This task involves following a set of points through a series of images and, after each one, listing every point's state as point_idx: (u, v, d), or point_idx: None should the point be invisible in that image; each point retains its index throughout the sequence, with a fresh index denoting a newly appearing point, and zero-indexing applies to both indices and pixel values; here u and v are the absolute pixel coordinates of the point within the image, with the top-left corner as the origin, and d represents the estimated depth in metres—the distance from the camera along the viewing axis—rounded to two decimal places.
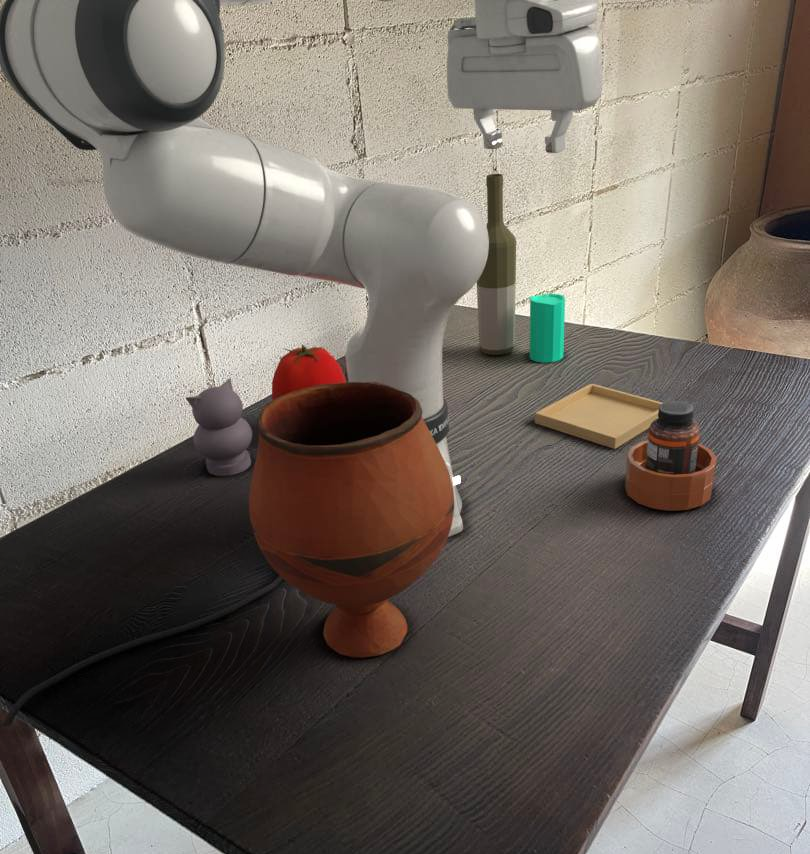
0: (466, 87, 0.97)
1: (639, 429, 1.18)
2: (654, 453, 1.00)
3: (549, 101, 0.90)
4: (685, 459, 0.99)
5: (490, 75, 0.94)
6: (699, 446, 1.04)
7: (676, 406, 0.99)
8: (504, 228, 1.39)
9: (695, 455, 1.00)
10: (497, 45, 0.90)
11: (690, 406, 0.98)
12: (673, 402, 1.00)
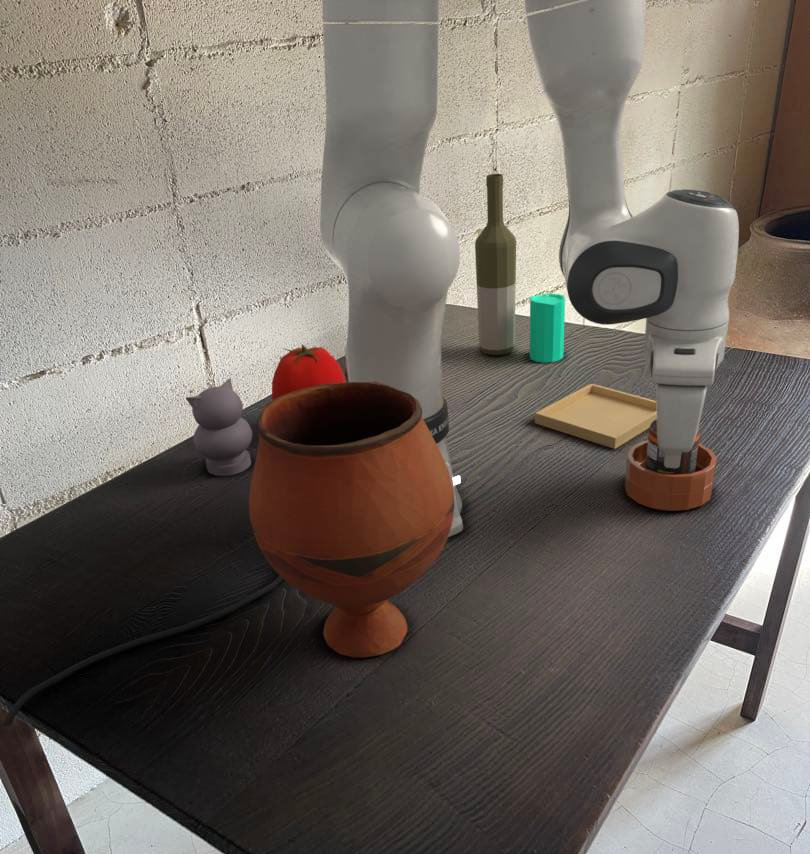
0: None
1: (639, 429, 1.18)
2: (654, 453, 1.00)
3: None
4: (685, 459, 0.99)
5: None
6: (699, 446, 1.04)
7: None
8: (504, 228, 1.39)
9: (695, 455, 1.00)
10: None
11: None
12: None
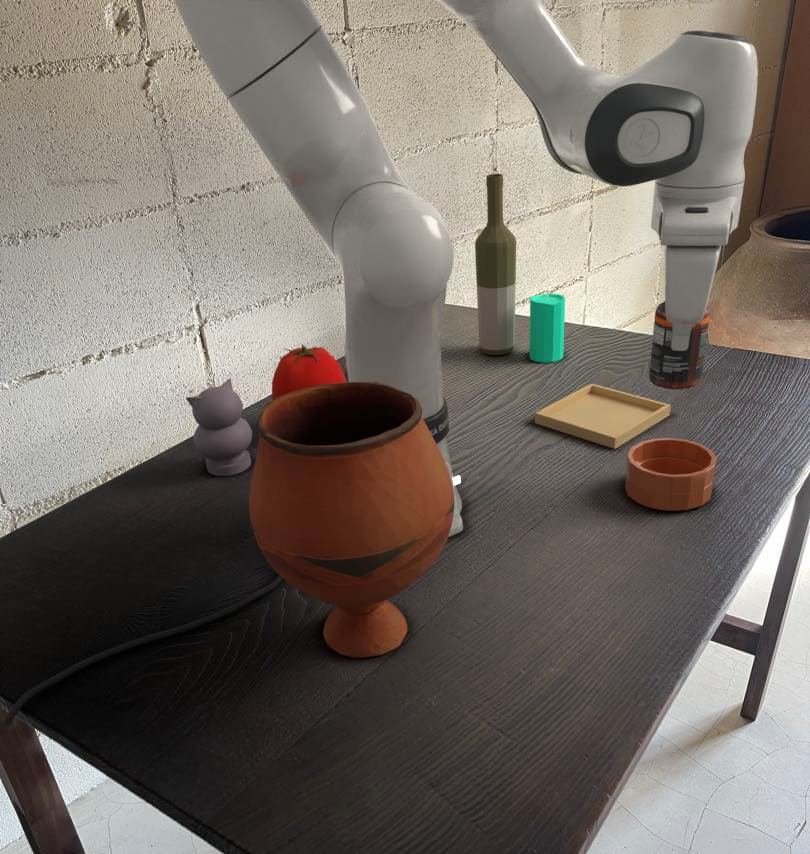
0: None
1: (639, 429, 1.18)
2: (661, 337, 0.93)
3: None
4: (694, 342, 0.92)
5: None
6: (699, 446, 1.04)
7: None
8: (504, 228, 1.39)
9: (705, 340, 0.93)
10: None
11: None
12: None
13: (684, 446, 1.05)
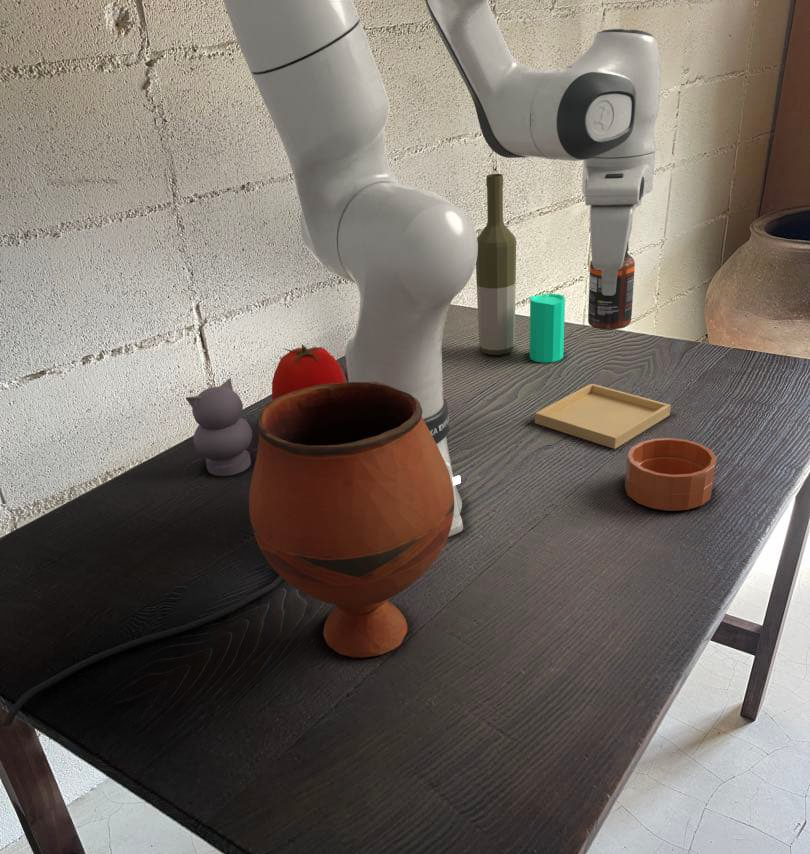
0: None
1: (639, 429, 1.18)
2: (594, 284, 1.11)
3: None
4: (621, 288, 1.10)
5: None
6: (699, 446, 1.04)
7: None
8: (504, 228, 1.39)
9: (631, 286, 1.11)
10: None
11: None
12: None
13: (684, 446, 1.05)
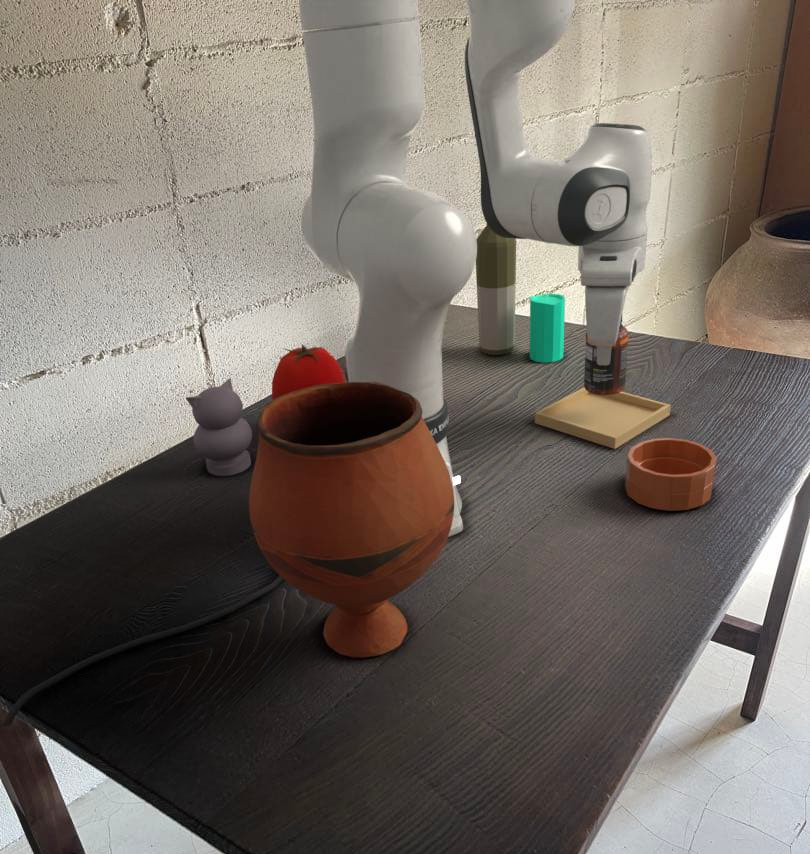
0: None
1: (639, 429, 1.18)
2: (590, 354, 1.17)
3: None
4: (616, 358, 1.16)
5: None
6: (699, 446, 1.04)
7: None
8: None
9: (625, 355, 1.17)
10: None
11: None
12: None
13: (684, 446, 1.05)
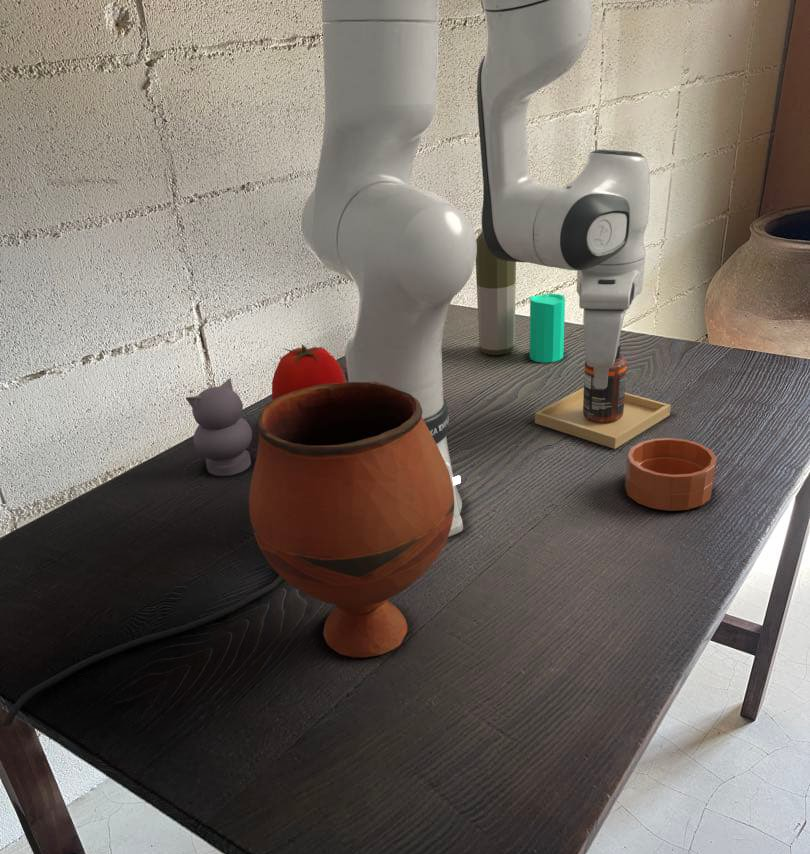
0: None
1: (639, 429, 1.18)
2: (589, 382, 1.19)
3: None
4: (614, 387, 1.18)
5: None
6: (699, 446, 1.04)
7: None
8: None
9: (623, 384, 1.19)
10: None
11: None
12: None
13: (684, 446, 1.05)
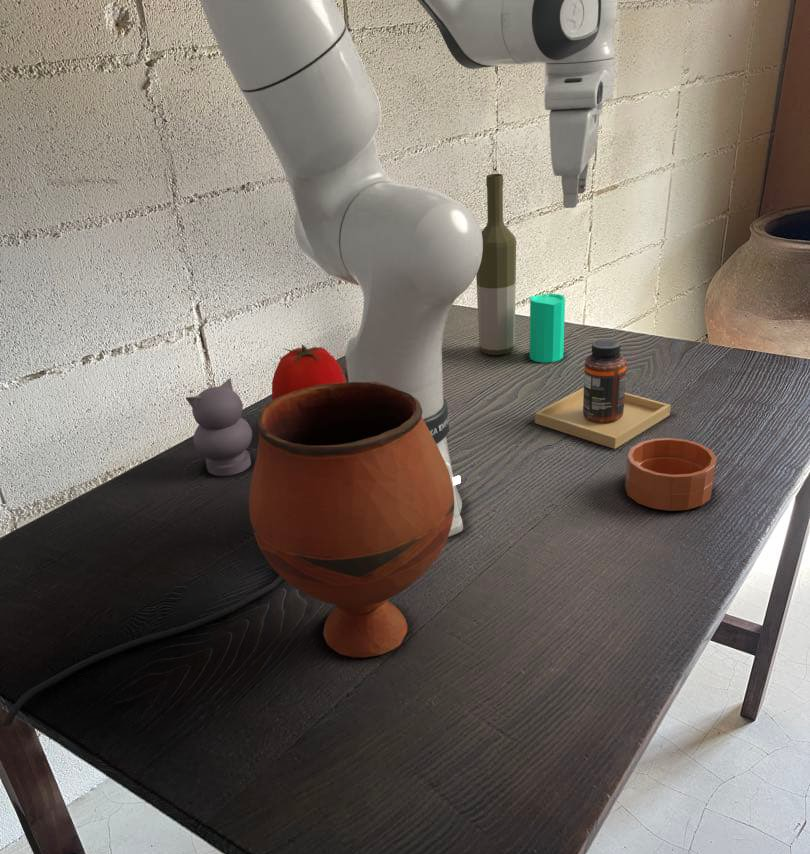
0: None
1: (639, 429, 1.18)
2: (589, 382, 1.19)
3: None
4: (614, 387, 1.18)
5: None
6: (699, 446, 1.04)
7: (606, 342, 1.18)
8: (504, 228, 1.39)
9: (623, 384, 1.19)
10: None
11: (618, 342, 1.17)
12: (604, 339, 1.19)
13: (684, 446, 1.05)
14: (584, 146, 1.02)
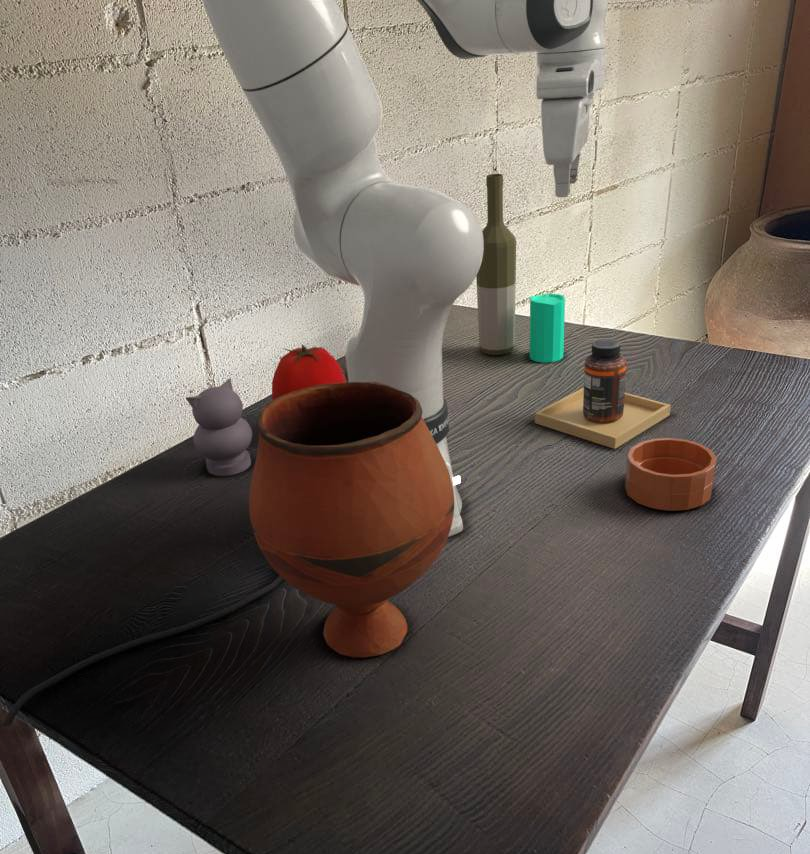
0: None
1: (639, 429, 1.18)
2: (589, 382, 1.19)
3: None
4: (614, 387, 1.18)
5: None
6: (699, 446, 1.04)
7: (606, 342, 1.18)
8: (504, 228, 1.39)
9: (623, 384, 1.19)
10: None
11: (618, 342, 1.17)
12: (604, 339, 1.19)
13: (684, 446, 1.05)
14: (576, 135, 1.03)
